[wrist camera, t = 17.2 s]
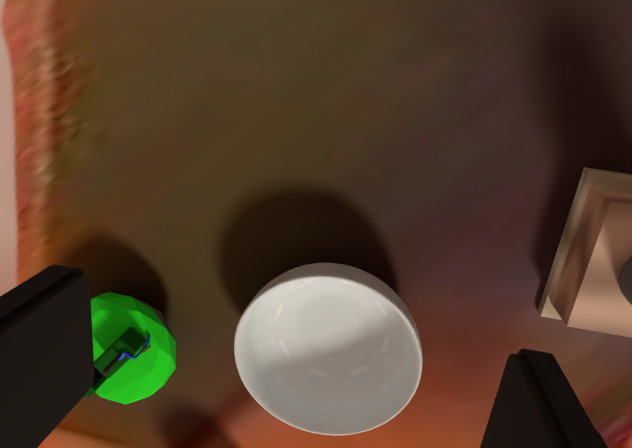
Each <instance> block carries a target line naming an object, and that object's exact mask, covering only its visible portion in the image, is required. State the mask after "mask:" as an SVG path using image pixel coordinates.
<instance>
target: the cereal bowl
mask: <svg viewBox="0 0 632 448" xmlns="http://www.w3.org/2000/svg"><path fill="white" fill-rule="evenodd" d="M234 353H235V361H236V365H237V369H238V372H239V375H240V377H241V379H242V381H243V383H244V385H245V387H246V388H247V390H248V391H249V393H250V394H251V395H252V396H253V398H254V399H255V400H256V401H257V402H258V403H259V404H260V405H261V406H262V407H263V408H264V409H265V410H266V411H268V412H269V413H270V414H272V415H273V416H275V417H276V418H278V419H279V420H281V421H283V422H285V423H287V424H288V425H291V426H293V427H296V428H298V429H301V430H304V431H308V432H312V433H317V434H324V435H350V434H356V433H361V432H365V431H368V430H371V429H374V428H376V427H378V426H381V425H382V424H384V423H386V422H387V421H389V420H391V419H392V418H394V417H395V416H396V415H397V414H398V413H400V412H401V411H402V410H403V409H404V407H405V406H406V405H407V404H408V403H409V401H410V400H411V398H412V397H413V395H414V393H415V391H416V389H417V387H418V384H419V381H420V378H421V372H422V361H423V358H422V348H421V342H420V338H419V334H418V331H417V327H416V325H415V322H414V320H413V317H412V316H411V313H410V311H409V310H408V309H407V306H406V305H405V304H404V302H403V301H402V300H401V298H400V297H399V296H398V295H397V294H396V293H395V292H394V291H393V290H392V289H391V288H390V287H389V286H388V285H387V284H385V283H384V282H383V281H381V280H380V279H379V278H376V277H375V276H374V275H372V274H369V273H367V272H366V271H363V270H361V269H357V268H355V267H351V266H347V265H342V264H336V263H315V264H309V265H303V266H300V267H296V268H294V269H291V270H289V271H287V272H285V273H283V274H281V275H279V276H278V277H276V278H274V279H273V280H272V281H270V282H269V283H268V284H267V285H265V286H264V287H263V288H262V289H261V290H260V291H259V292H258V293H257V294H256V296H255V297H254V298H253V299H252V301H251V302H250V303H249V305H248V306H247V308H246V309H245V311H244V312H243V314H242V316H241V318H240V320H239V323H238V325H237V329H236V333H235V339H234Z"/></svg>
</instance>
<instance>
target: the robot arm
mask: <svg viewBox="0 0 632 448" xmlns="http://www.w3.org/2000/svg"><path fill="white" fill-rule="evenodd" d="M94 374H95V372H94V354H93V335H92V316H91V298H90V283H89V279H88V278H87V277H86V276H84V274H83V272H82V271H81V270H80V269H77V268H72V267H66V266H60V265H52V266H49V267H48V268H46V269H44V270H43V271H41V272H40V273H38V274H36V275H35V276H33V277H31V278H30V279H28V280H27V281H25V282H23V283H22V284H20V285H18V286H17V287H15V288H13V289H12V290H10V291H9V292H7V293H5V294H4V295H2V296H1V297H0V448H37V447H38V446H39V445H40V444H41V443H42V442H43V441H44V439H45V438H46V437H47V436H48V435H49V434H50V433H51V432H52V431H53V430H54V428H55V427H56V426H57V425H58V424H59V423H60V422H61V421H62V420H63V418H64V417H65V416H66V415H67V414H68V413H69V412H70V411H71V410H72V408H73V407H74V406H75V405H76V404H77V403H78V402H79V401H80V400H81V398H82V397H83V396H84V395H85V394H86V393H87V392H88V390H89V389H90V387H91V386H92V383H93V380H94ZM480 448H608V447H607V446H606V444H605V442H604V440H603V439H602V437H601V435H600V434H599V433H598V432H597V430H595V428H594V426H593V424H592V423H591V421H590V419H589V417H588V416H587V414H586V412H585V410H584V409H583V407H582V405H581V403H580V401H579V400H578V398H577V396H576V394H575V393H574V391H573V389H572V387H571V386H570V384H569V382H568V380H567V379H566V377H565V375H564V373H563V371H562V370H561V368H560V366H559V364H558V363H557V361H556V359H555V357H554V356H553V355H552V354H550V353H546V352H540V351H534V350H529V349H521V350H520V351H519V352H518V354H510V356H509V357H508V360H507V363H506V366H505V369H504V373H503V376H502V379H501V382H500V385H499V389H498V392H497V395H496V398H495V402H494V405H493V408H492V411H491V414H490V418H489V421H488V424H487V427H486V430H485V434H484V437H483V440H482V443H481V447H480Z"/></svg>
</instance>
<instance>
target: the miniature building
mask: <svg viewBox="0 0 632 448" xmlns="http://www.w3.org/2000/svg"><path fill="white" fill-rule="evenodd" d="M91 316H92V335H93V354H94V372H95V374H94V380H93V383H92V386H91V387H90V389H89V390H88V392H87V393H86V394H85V395H84V397H90V396H91V395H92V394H93V393H94V392H96V393H97V394H98V395H99V396H100V397H102V398H105V399H109V400H112V401H115V402H119V403H122V404H129V403H132V402H134V401H137V400H140V399H143V398H146V397H149V396H150V395H152V394H153V393H154V392H156V391H157V390H158V389H159V388H161V387H162V386H163V385H164V384H165V382H166V381H167V380H168V378H169V377H170V375H171V374H172V372H173V371H174V370H175V368H176V341H175V339H174V337H173V335H172V333H171V331H170V329H169V327H168V325H167V323H166V321H165V319H164V317H163V315H162V313H161V312H160V311H158V310H157V309H155V308H153V307H152V306H150V305H149V304H147V303H145V302H142V301H140V300H138V299H135V298H133V297H130V296H125V295H120V294H115V293H111V292H107V293H104V294H101V295H99V296H96V297H94V298H91Z"/></svg>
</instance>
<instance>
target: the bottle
mask: <svg viewBox="0 0 632 448" xmlns="http://www.w3.org/2000/svg"><path fill="white" fill-rule="evenodd" d="M619 284H620V289H621V292H622V294H623V296H624V297H625V298H626V300H627V301H628V302H629V303H630V304H631V305H632V257H630V258H629V260H628V261H627V262H626V263H625V265H624V267H623V269H622V271H621V274H620V279H619Z"/></svg>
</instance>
